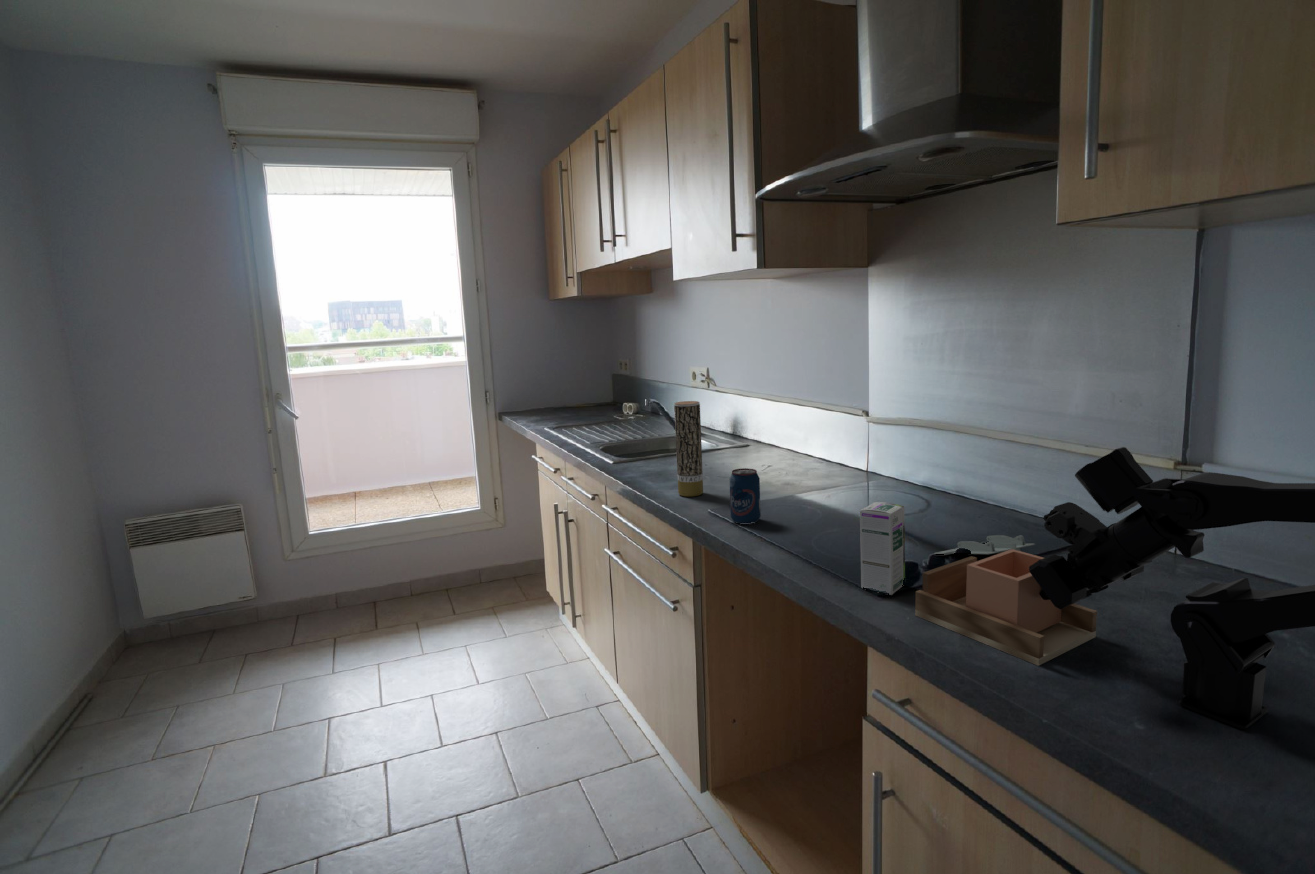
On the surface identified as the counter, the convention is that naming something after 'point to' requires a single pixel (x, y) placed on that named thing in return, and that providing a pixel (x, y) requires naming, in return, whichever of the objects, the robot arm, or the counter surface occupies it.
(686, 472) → the paper tube
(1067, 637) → the wooden bay
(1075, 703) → the counter surface
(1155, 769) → the counter surface
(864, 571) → the syrup box
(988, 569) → the box
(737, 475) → the soda can
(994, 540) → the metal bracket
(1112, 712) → the counter surface
